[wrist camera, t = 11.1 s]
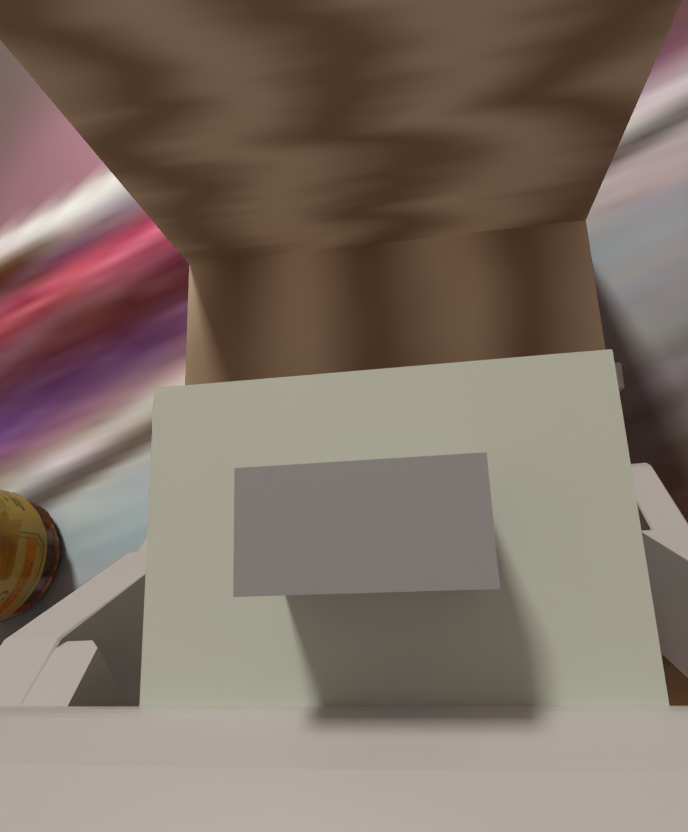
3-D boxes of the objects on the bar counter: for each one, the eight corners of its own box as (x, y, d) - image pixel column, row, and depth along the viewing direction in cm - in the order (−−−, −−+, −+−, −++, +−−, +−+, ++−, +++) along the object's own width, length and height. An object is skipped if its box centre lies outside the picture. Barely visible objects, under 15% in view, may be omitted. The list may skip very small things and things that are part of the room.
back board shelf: (564, 218, 28) (832, -495, 9) (593, 416, 26) (1037, 8, 7) (213, 258, 31) (-152, -235, 12) (209, 441, 28) (-262, 198, 9)
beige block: (504, 479, 16) (667, 282, 5) (519, 616, 15) (764, 789, 4) (321, 489, 16) (76, 340, 5) (325, 621, 15) (39, 777, 4)
